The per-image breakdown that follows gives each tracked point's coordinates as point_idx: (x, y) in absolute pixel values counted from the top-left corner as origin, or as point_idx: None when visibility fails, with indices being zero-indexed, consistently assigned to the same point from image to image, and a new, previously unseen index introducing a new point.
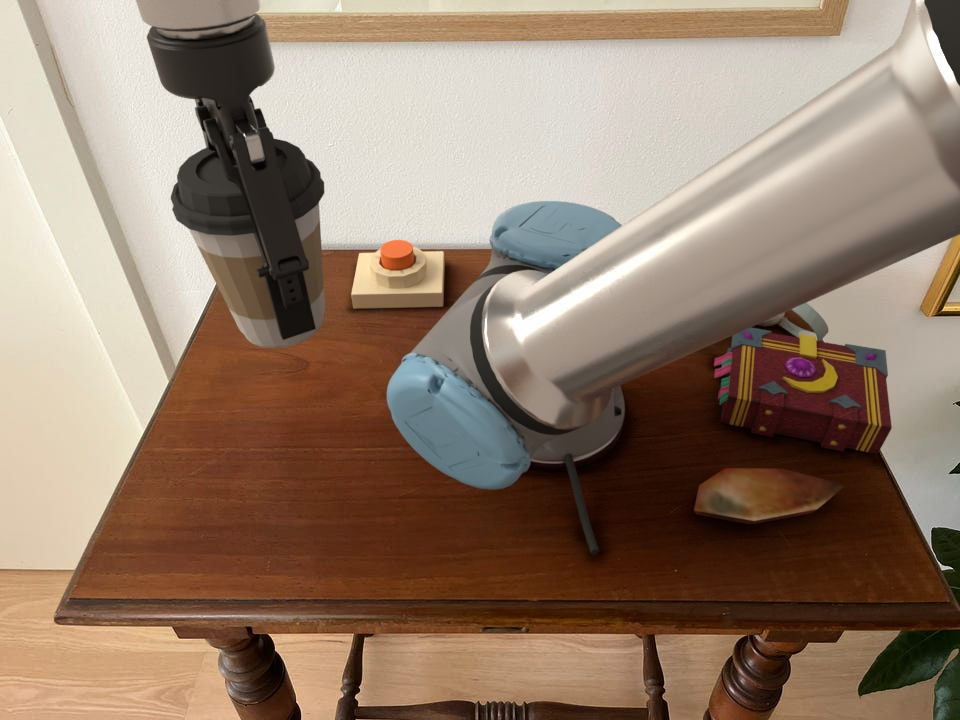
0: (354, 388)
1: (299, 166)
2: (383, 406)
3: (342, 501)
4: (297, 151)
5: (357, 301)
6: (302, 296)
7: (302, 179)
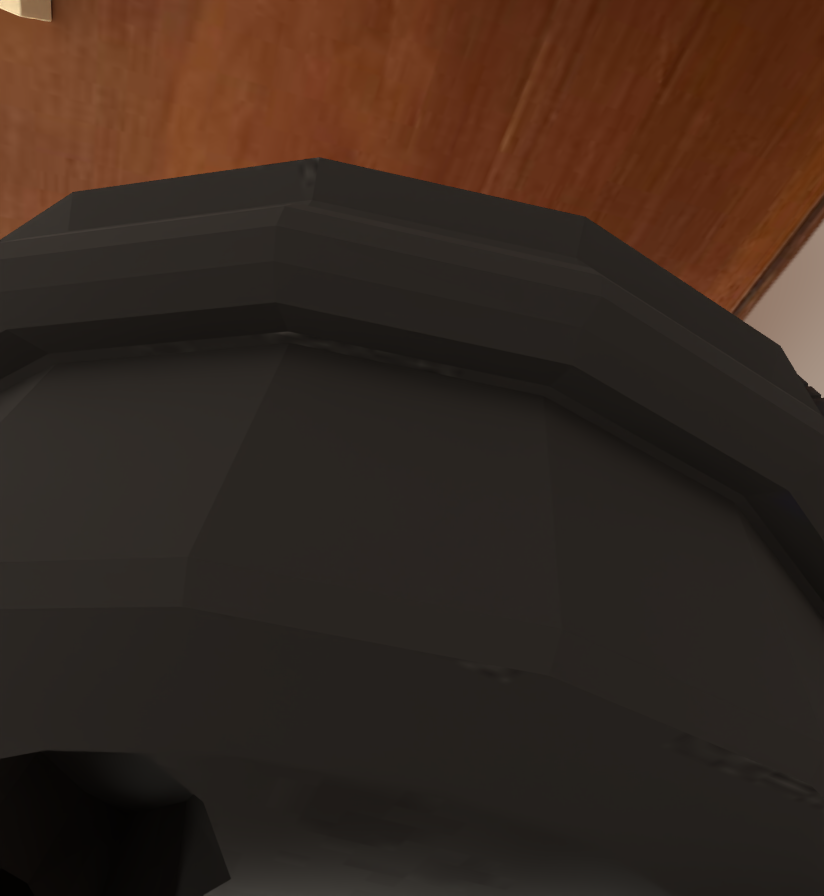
0: (337, 99)
1: (685, 727)
2: (412, 43)
3: (609, 201)
4: (81, 643)
5: (35, 2)
6: (801, 380)
7: (723, 583)
